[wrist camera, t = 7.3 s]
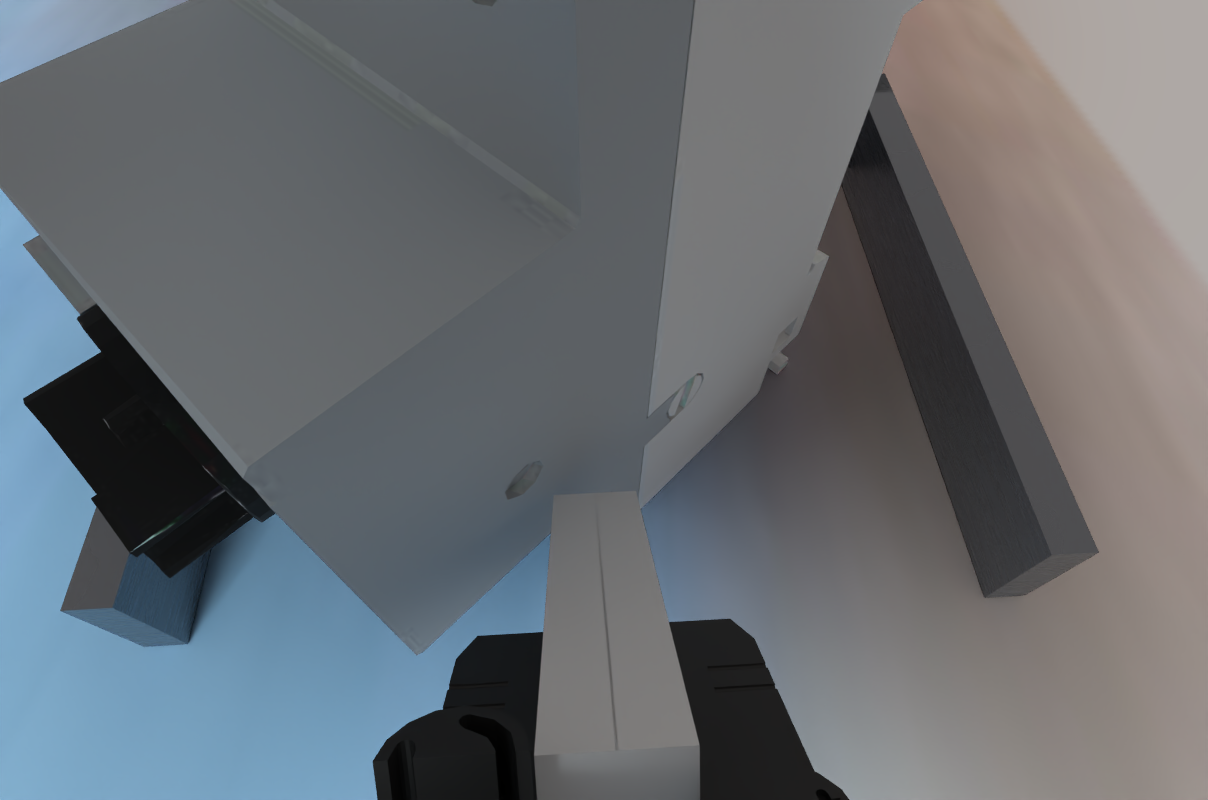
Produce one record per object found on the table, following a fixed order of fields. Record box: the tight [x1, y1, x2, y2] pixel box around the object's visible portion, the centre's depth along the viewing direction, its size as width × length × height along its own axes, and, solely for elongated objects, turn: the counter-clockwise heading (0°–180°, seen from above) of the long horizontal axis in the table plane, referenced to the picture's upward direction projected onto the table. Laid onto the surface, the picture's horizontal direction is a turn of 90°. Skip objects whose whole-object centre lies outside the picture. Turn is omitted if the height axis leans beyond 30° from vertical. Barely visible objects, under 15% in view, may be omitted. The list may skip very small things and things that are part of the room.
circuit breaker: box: [0, 0, 923, 655], centre depth 13 cm, size 8×14×15 cm, turn 136°
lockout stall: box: [61, 74, 1099, 647], centre depth 20 cm, size 17×21×3 cm
